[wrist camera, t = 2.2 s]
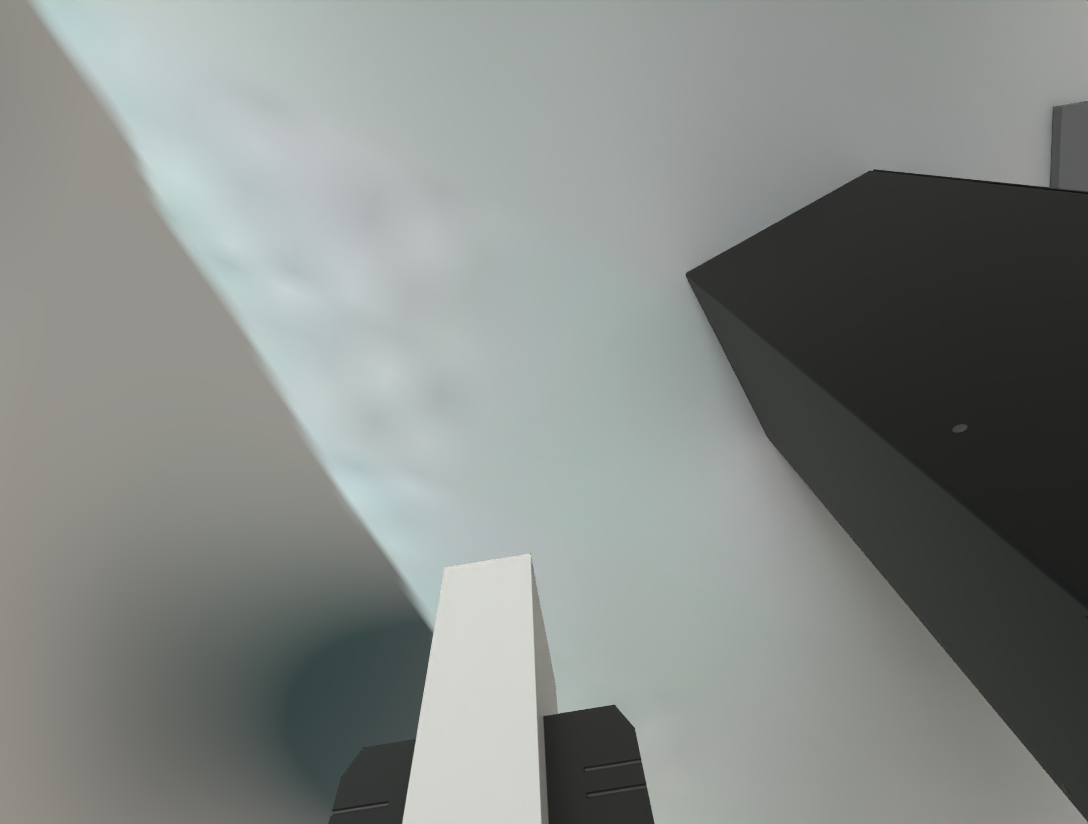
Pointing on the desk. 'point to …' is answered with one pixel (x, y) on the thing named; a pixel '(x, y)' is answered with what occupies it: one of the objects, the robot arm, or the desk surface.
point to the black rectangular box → (939, 415)
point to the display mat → (1070, 147)
